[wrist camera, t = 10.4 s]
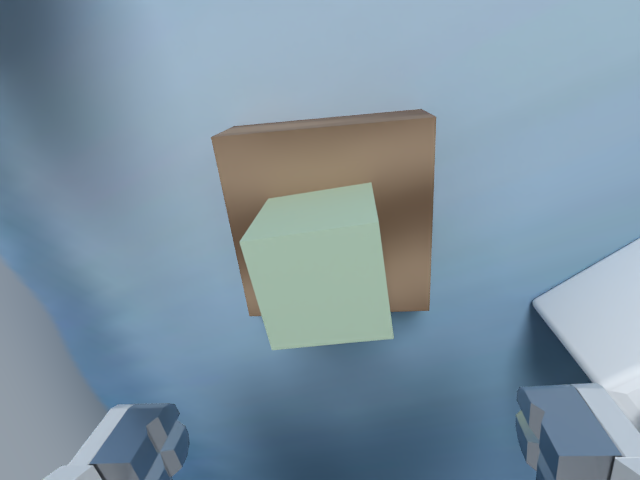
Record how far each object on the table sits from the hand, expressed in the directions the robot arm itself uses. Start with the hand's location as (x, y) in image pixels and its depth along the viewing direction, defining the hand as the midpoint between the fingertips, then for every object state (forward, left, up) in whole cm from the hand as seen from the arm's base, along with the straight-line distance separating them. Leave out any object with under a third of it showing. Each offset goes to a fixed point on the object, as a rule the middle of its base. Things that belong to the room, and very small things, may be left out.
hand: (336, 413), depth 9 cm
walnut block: (0, +1, -14) cm, 14 cm away
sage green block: (0, +1, -10) cm, 10 cm away
